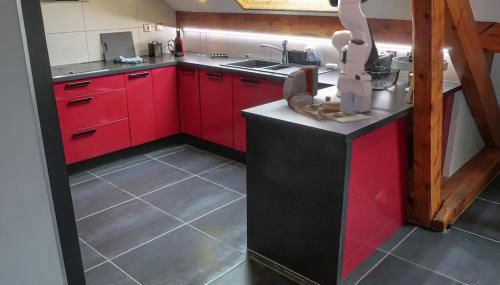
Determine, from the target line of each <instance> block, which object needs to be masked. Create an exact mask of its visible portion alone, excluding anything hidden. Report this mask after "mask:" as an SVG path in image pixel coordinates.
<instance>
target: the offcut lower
mask: <svg viewBox="0 0 500 285" xmlns="http://www.w3.org/2000/svg"><path fill="white" fill-rule="evenodd" d="M320 108H322V106H321V107H320ZM338 112H341V111H340V109H324V110H323V114H331V113H338Z"/></svg>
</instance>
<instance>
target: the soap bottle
mask: <svg viewBox="0 0 500 285" xmlns="http://www.w3.org/2000/svg"><path fill="white" fill-rule="evenodd" d="M372 96H373V87H372V86H371V92H370V95H369V96H368V97H363V104H362V110H356V111H354V113H355V112H356V113H358V114H362V113H365V112H369V111H370V110H371V106H372V105H371V103H372Z"/></svg>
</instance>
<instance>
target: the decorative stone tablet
mask: <svg viewBox="0 0 500 285" xmlns="http://www.w3.org/2000/svg"><path fill="white" fill-rule="evenodd" d="M318 89H319V66H318V65H314V64H313V65H312V64H310V65H308V66H305V67H301V68H299V69H297V70H294V71H292V72H290V73H289V74H287V77H286V79H285V81H284V83H283V90H282V91H283V92H282V93H283V98H284V100H285V101H286V102H287V100H288V97H289V96H290V95H291V94H293V93H310V94H311V95H312V96H313V98H314V97H316V96H318V93H319V92H318V91H319V90H318Z"/></svg>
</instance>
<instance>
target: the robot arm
mask: <svg viewBox="0 0 500 285" xmlns="http://www.w3.org/2000/svg"><path fill="white" fill-rule="evenodd" d="M327 1H328V4H329V5H330V6H331V7H332V8H337V12H338V18H339V19H338V20H339V21H340V22H341V24H342V26H343V27H344V28H345V29H346V30H339V31H338V30H337V31H335V32H334V33H333V35H332V36H331V45H332V47H333V48H334V49H336V51H337V53H338V55H339V61H340V72H339V75H338V78H337V83H336V90H337V91H336V94H335V95H336V96H337V97H340V98H341V91H346V90H349V91H352V94H355V98H354V99H353V103H357V100H358V98H359V97H360V96H362V97H368V96H369V95H370V92H371V87H372V82H371V80H372V78H373V77H372V75H371V74H369V73H367V71H366V70H365V66H367V67H372V66H374V65H375V64H376V63H377V62H378V59H379V51H378V48H377V45H376V41H375V37H374V34H373V32H372V31H373V30H372V27H371V24H370V21H369V18H368V17H367V16H366V15H365V14H364V13H363V12H362V10H361V4H364V3H367V2H368V1H369V0H327Z"/></svg>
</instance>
